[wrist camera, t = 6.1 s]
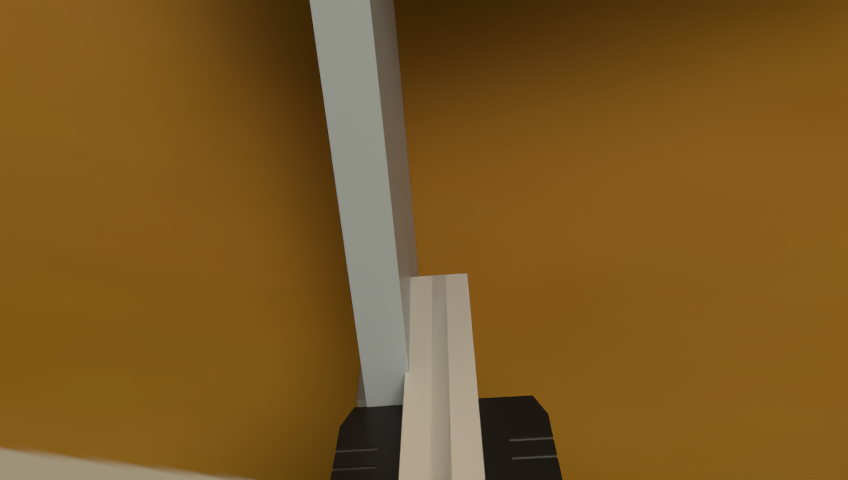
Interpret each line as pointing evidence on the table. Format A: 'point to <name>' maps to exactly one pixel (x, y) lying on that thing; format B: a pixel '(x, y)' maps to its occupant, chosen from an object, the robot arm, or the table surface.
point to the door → (370, 183)
